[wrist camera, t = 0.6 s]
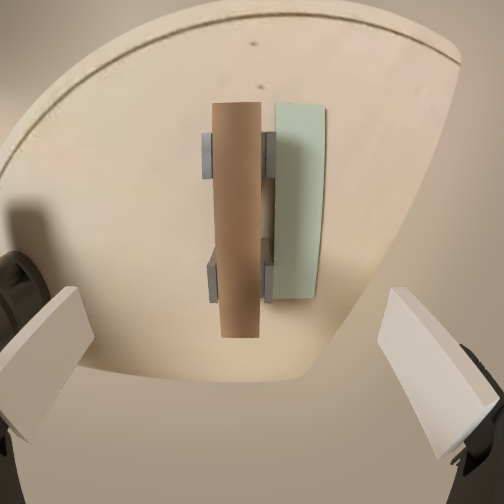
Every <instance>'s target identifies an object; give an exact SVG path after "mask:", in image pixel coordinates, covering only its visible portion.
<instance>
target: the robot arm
mask: <svg viewBox="0 0 504 504" xmlns="http://www.w3.org/2000/svg"><path fill="white" fill-rule="evenodd" d="M94 338H95V336H94V334H93V331H92V328H91V325H90V322H89V320H88V317H87V314H86V311H85V307H84V304H83V301H82V298H81V294H80V291H79V287H72V286H66V287H64V288H63V289H62V290H61V291H60V292H59V293H58V294H57V295H56V296H55V297H54V298H53V299H50V295H49V292H48V289H47V287H46V284H45V282H44V280H43V278H42V276H41V275H40V273H39V271H38V270H37V268H36V267H35V266H34V265H33V263H32V262H31V261H30V260H29V259H28V258H27V257H25V256H24V255H23V254H21V253H19V252H16V251H10V252H8V253H6V254H5V255H3V256H1V257H0V504H26V503H25V500H24V497H23V493H22V490H21V486H20V482H19V478H18V474H17V469H16V464H15V459H14V453H13V447H12V440H11V436H10V434H9V432H8V431H7V430H8V428H9V427H10V428H11V430H12V431H13V432H14V433H15V434H16V435H17V436H18V437H19V438H21V439H23V440H25V441H26V442H28V443H30V444H31V443H32V441H33V439H34V437H35V435H36V434H37V432H38V430H39V428H40V426H41V424H42V422H43V421H44V419H45V417H46V415H47V413H48V412H49V410H50V408H51V406H52V405H53V403H54V401H55V399H56V397H57V396H58V394H59V393H60V391H61V389H62V388H63V386H64V384H65V383H66V381H67V380H68V378H69V376H70V375H71V373H72V372H73V370H74V368H75V367H76V365H77V364H78V362H79V361H80V359H81V358H82V356H83V355H84V353H85V352H86V350H87V349H88V347H89V346H90V344H91V343H92V341H93V340H94ZM377 342H378V344H379V346H380V348H381V349H382V351H383V352H384V355H385V356H386V358H387V360H388V362H389V363H390V365H391V367H392V369H393V371H394V373H395V374H396V376H397V378H398V380H399V382H400V384H401V386H402V387H403V389H404V391H405V393H406V395H407V397H408V399H409V401H410V403H411V405H412V407H413V409H414V411H415V413H416V415H417V417H418V419H419V421H420V423H421V425H422V427H423V429H424V431H425V433H426V435H427V437H428V440H429V442H430V444H431V447H432V449H433V451H434V453H435V455H436V458H437V459H439V458H441V457H444V456H445V455H448V454H450V453H451V452H454V451H455V450H456V449H457V448H458V447H459V446H460V445H461V444H462V443H463V442H464V443H465V445H466V447H465V448H464V449H463V450H462V451H461V452H460V453H459V454H458V455H457V456H456V457H455V458H454V459H452V461H451V463H450V464H451V465H453V464H454V463H455V462H456V461H457V460H458V459H459V458H460V461H459V462H458V463H457V464H456V466H458V469H457V473H456V476H455V479H454V482H453V486H452V489H451V492H450V494H449V497H448V500H447V503H446V504H504V392H503V391H502V389H501V388H500V387H499V385H498V384H497V383H496V381H495V380H494V379H493V378H492V376H491V375H490V374H489V372H488V371H487V370H485V367H484V366H483V365H482V363H481V362H479V360H478V358H477V357H476V356H475V355H474V354H473V353H472V352H471V351H470V350H469V349H468V348H466V347H465V346H463V345H462V344H460V345H459V344H458V343H457V342H456V341H455V340H454V338H453V337H452V336H451V335H450V334H449V333H448V331H447V330H446V329H445V328H444V327H443V326H442V325H441V324H440V323H439V321H438V320H437V319H436V318H435V317H434V316H433V315H432V314H431V313H430V312H429V310H428V309H427V308H426V307H425V306H424V305H423V304H422V303H421V302H420V301H419V300H418V299H417V298H416V297H415V296H414V294H413V293H412V292H411V291H410V290H408V288H407V287H405V286H404V287H391V289H390V293H389V298H388V301H387V305H386V309H385V313H384V316H383V320H382V323H381V327H380V330H379V334H378V337H377Z"/></svg>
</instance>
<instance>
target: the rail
mask: <svg viewBox="0 0 504 504" xmlns="http://www.w3.org/2000/svg"><path fill="white" fill-rule="evenodd" d="M212 136H213V191H214V220H215V243H216V263H217V280H218V296H219V310H220V323H221V336H222V338H259V321H260V250H261V102H236V103H212Z"/></svg>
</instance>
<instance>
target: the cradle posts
mask: <svg viewBox="0 0 504 504" xmlns="http://www.w3.org/2000/svg"><path fill="white" fill-rule="evenodd" d="M261 177H266V178H276V132H261ZM212 178H213V136H212V133H202V179H212ZM207 275H208V288H209V300H210V303H218V299H219V296H218V280H217V263H216V245H215V248H214V251H213V253H212V256H211V259H210V262H208V264H207ZM273 275H274V264H273V262H272V259H271V254H270V248H269V243H268V239H261V250H260V298H264V303H272V301H273Z"/></svg>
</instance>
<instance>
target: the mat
mask: <svg viewBox="0 0 504 504" xmlns="http://www.w3.org/2000/svg"><path fill="white" fill-rule="evenodd" d="M324 155H325V106H319V105H308V104H293V103H276V178H275V222H274V259H273V264H274V275H273V299H311V298H314V293H315V285H316V276H317V266H318V256H319V245H320V232H321V219H322V203H323V184H324Z"/></svg>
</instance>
